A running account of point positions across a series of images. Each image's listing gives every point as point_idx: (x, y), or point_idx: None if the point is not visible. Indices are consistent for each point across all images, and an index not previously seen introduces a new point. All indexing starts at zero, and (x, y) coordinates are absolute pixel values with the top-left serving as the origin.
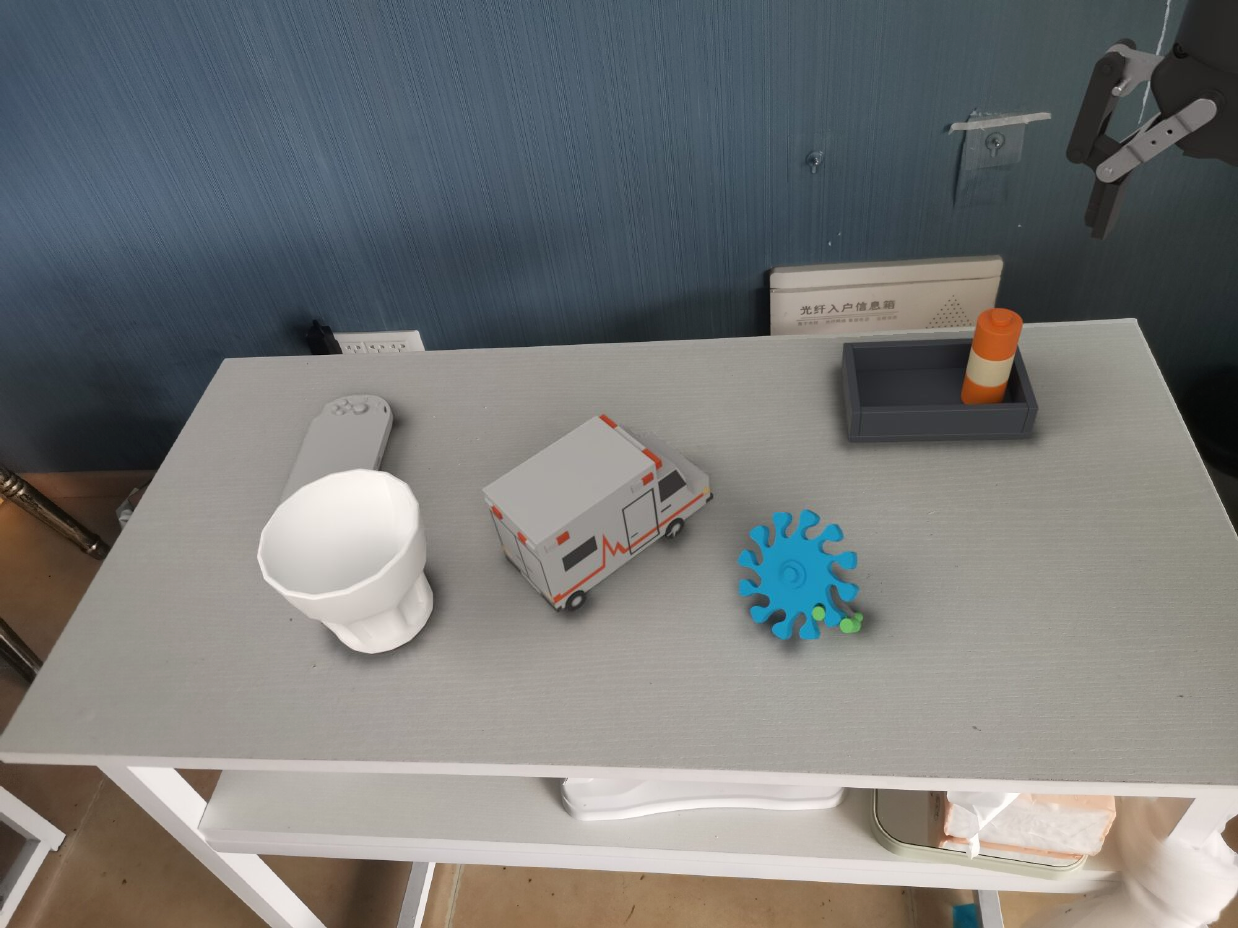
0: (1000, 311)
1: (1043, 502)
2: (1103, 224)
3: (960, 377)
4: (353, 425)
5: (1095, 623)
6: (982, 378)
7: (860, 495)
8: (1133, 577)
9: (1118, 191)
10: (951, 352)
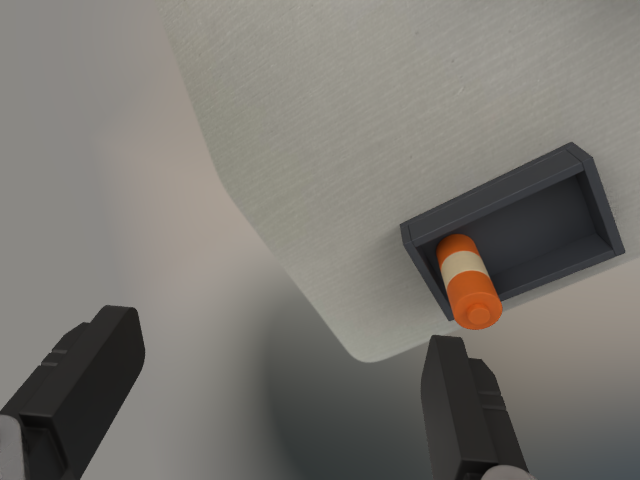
0: (482, 321)
1: (365, 156)
2: (449, 362)
3: None
4: None
5: (278, 37)
6: (466, 256)
7: (540, 74)
8: (269, 109)
9: (456, 445)
10: (502, 285)
